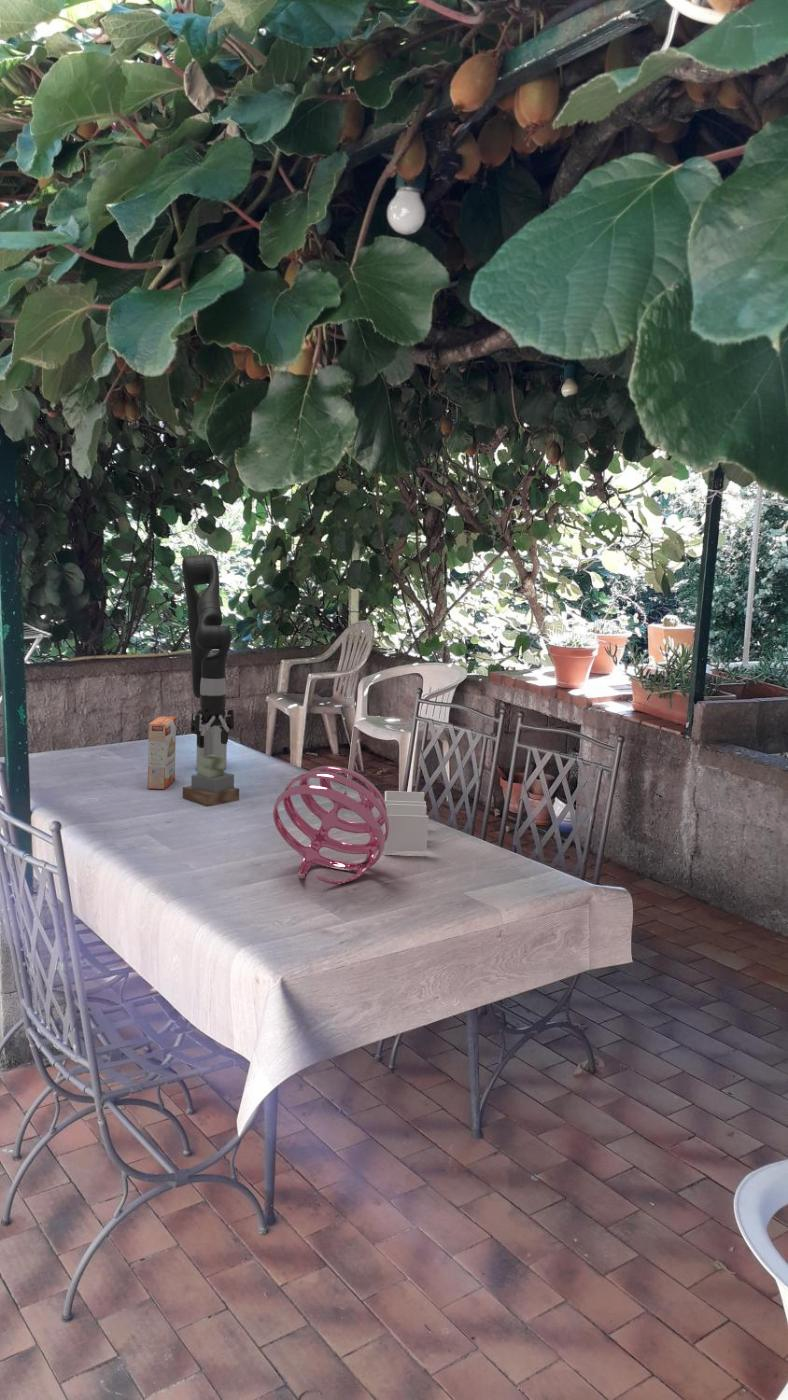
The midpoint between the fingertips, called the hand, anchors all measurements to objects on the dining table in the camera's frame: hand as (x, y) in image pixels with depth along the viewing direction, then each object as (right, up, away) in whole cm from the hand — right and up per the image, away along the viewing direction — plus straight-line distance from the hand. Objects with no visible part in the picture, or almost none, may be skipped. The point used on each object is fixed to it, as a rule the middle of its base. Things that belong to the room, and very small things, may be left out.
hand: (212, 745), depth 312 cm
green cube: (-1, -9, +1) cm, 9 cm away
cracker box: (-19, -13, +18) cm, 29 cm away
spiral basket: (+40, -29, -61) cm, 78 cm away
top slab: (0, -13, +2) cm, 13 cm away
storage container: (+57, -25, -33) cm, 70 cm away
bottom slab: (-1, -17, +3) cm, 17 cm away
